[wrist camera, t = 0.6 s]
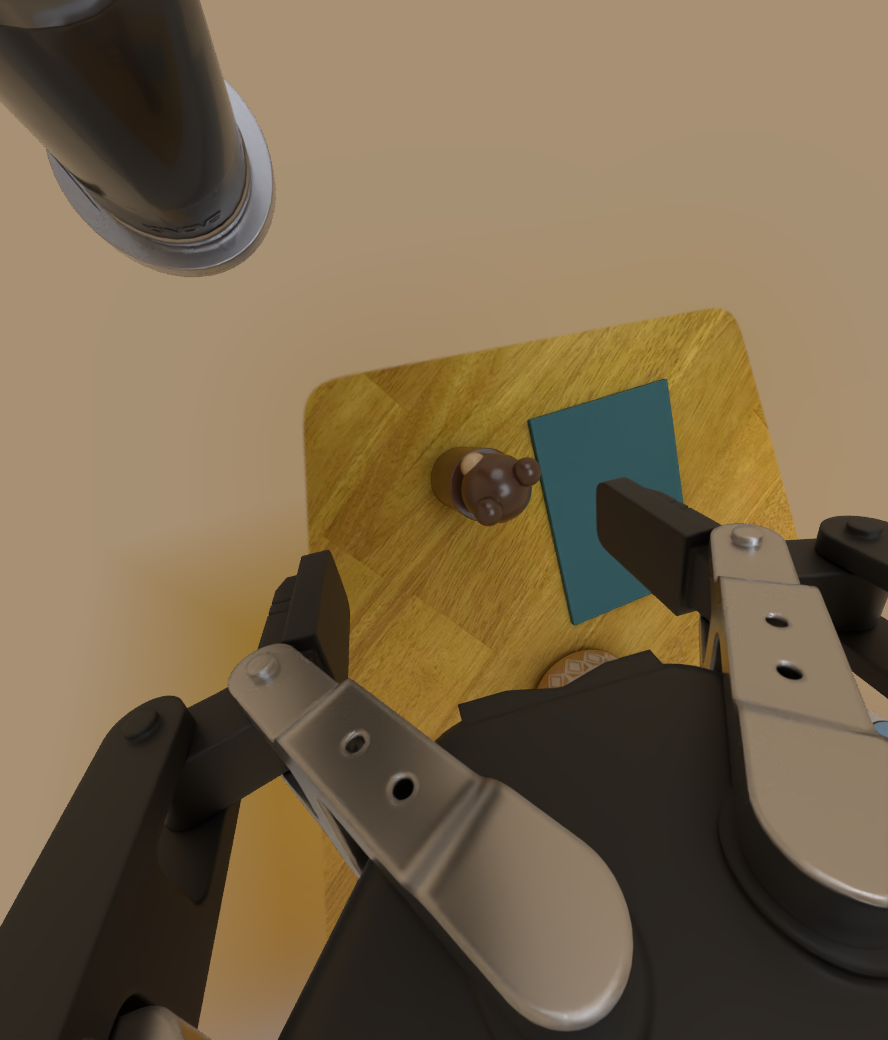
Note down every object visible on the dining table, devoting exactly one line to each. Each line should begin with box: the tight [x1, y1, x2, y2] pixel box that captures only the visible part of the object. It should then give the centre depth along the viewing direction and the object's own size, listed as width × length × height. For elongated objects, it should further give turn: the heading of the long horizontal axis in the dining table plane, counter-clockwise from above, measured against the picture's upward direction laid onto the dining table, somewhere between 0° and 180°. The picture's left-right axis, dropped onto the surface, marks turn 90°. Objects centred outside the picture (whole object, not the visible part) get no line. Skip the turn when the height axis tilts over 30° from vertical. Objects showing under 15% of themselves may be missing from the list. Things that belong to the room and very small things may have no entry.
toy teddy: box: [431, 447, 541, 526], centre depth 30 cm, size 6×5×11 cm
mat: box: [528, 379, 683, 625], centre depth 39 cm, size 20×14×1 cm
